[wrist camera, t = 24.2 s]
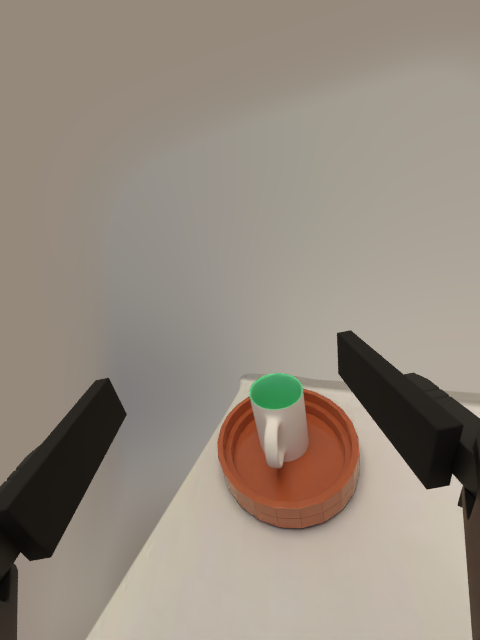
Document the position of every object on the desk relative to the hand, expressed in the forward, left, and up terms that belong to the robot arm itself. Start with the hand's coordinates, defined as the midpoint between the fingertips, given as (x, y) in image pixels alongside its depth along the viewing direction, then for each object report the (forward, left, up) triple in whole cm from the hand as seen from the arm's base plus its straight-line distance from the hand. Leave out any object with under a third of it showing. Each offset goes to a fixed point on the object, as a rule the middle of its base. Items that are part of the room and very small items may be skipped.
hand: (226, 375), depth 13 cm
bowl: (+1, +16, -27) cm, 31 cm away
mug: (+1, +16, -27) cm, 31 cm away
